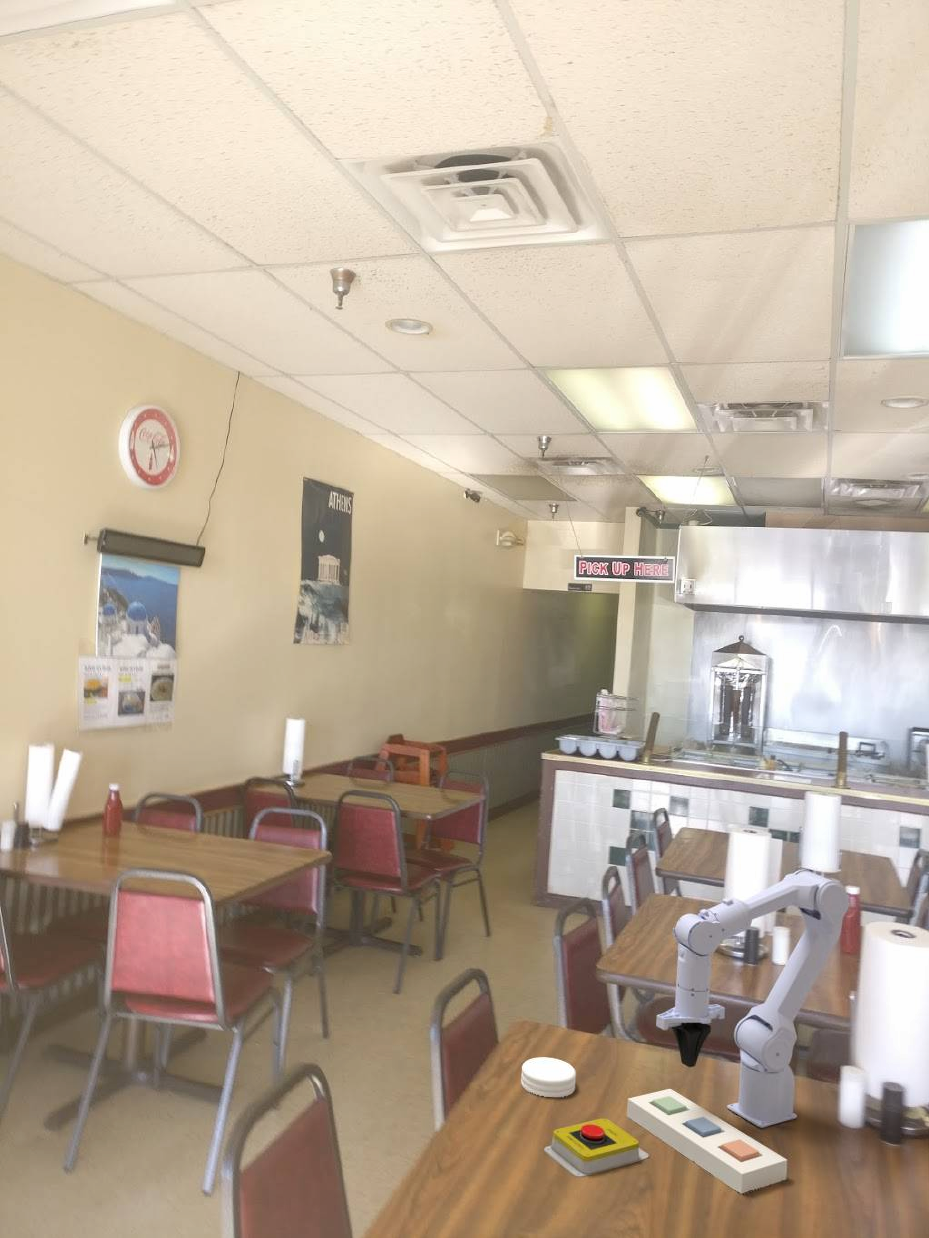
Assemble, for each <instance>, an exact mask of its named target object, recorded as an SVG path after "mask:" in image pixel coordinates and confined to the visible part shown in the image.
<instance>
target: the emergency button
mask: <svg viewBox="0 0 929 1238" xmlns="http://www.w3.org/2000/svg"><path fill="white" fill-rule="evenodd" d="M552 1133H553V1134H552V1141H551V1145H548V1146H545V1147H544V1149H543V1151H544V1153H545V1154H547V1155H548V1156H549V1157H551V1158H552V1159H553V1160H554V1161H555V1162H557V1163H558V1164H559V1165H560V1166H561V1167H562V1168H564V1169H565V1170H566V1171H567V1172H569V1173H570V1174H571V1175H572V1176H574V1177H577V1178H583V1177H588V1176H591V1175H595V1174H598V1172H599V1173H601V1172H605V1171H608V1170H609V1171H610V1170H613V1169H616V1168H619V1167H622V1166H627V1165H630V1164H633V1163H636V1162H640V1161H644V1160H647V1159H648V1158H649V1153H647V1152H646V1151H644V1150H643V1149H642V1148H640V1145H639V1141H638V1140H637V1139H636V1138H634V1137H633V1136H632V1135H631V1134H629V1133H628V1132H626V1131H625V1130H623V1129H622V1128H621V1127H619V1126H618V1125H616V1124H615V1123H613V1122H612V1121H611V1120H609V1119H607V1118H598V1119H593V1120H590V1121H585V1122H581V1123H578V1124H573V1125H570V1126H565V1127H562V1128H557V1129H555V1130H553V1132H552Z"/></svg>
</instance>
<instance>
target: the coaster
mask: <svg viewBox="0 0 929 1238" xmlns="http://www.w3.org/2000/svg"><path fill="white" fill-rule="evenodd" d="M520 1075H521V1079H520V1083H521V1086H522V1088H523V1089H524V1090H525V1091H527V1092H528V1093H530V1092H531V1093H530V1094H532V1093H533V1094H532V1095H534V1094H536V1095H535V1096H537V1095H539V1096H538V1097H541V1096H544V1097H543V1098H546V1097H562V1098H565V1097H564V1096H566V1097H569V1096H571V1095H572V1094H573V1093H574V1091H575V1090H576V1080H577V1079H576V1076H577V1072H576V1069H575V1068H574V1067H573V1066H572V1064H570V1063H568V1062H567V1061H564V1060H561V1059H558V1058H554V1057H546V1056H545V1057H543V1056H541V1057H534V1058H530V1059H527V1060H526V1061H524V1062H523V1064H522V1066H521V1074H520ZM570 1094H571V1095H570ZM568 1095H569V1096H568Z"/></svg>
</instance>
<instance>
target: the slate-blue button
mask: <svg viewBox="0 0 929 1238" xmlns="http://www.w3.org/2000/svg"><path fill="white" fill-rule="evenodd" d="M685 1126H686V1127H687V1128H689V1129H690V1130H692V1131H693V1132H695V1133H697V1134H698V1135H700V1136H701V1137H703V1138H704V1137H708V1136H712V1135H715V1134H719V1133H721V1127H719V1126H717V1125H716V1124H714V1123H712V1122H711V1121H709V1120H708V1119H706V1118H704V1117H700V1118H697V1119H693V1120H689V1121H686V1125H685Z"/></svg>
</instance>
